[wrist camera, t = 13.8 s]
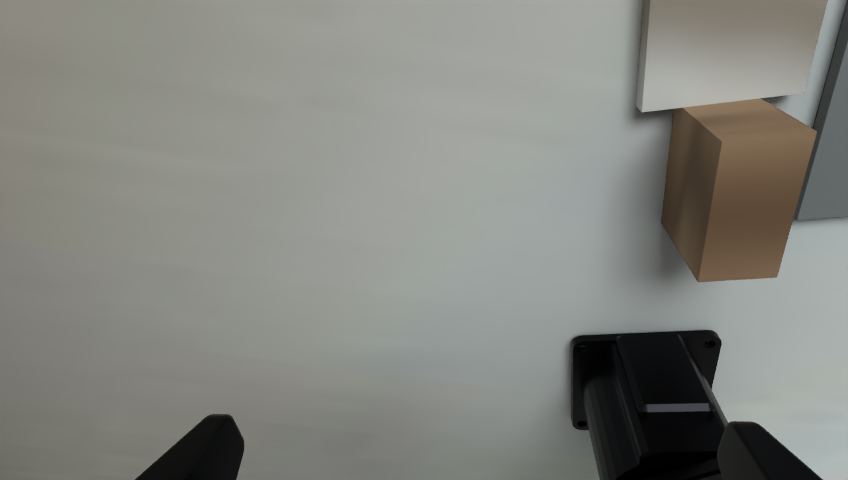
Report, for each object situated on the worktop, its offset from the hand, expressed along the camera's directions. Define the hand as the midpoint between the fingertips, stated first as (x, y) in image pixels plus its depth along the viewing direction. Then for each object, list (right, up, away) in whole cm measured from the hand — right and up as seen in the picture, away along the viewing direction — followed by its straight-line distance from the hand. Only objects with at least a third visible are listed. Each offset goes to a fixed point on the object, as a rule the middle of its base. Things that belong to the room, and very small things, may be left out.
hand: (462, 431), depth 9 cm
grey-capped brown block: (+9, +9, +8) cm, 15 cm away
